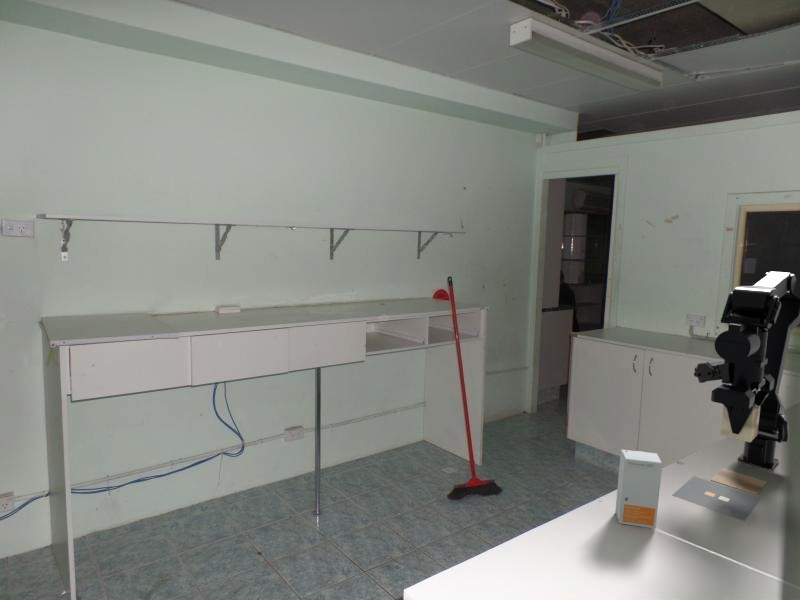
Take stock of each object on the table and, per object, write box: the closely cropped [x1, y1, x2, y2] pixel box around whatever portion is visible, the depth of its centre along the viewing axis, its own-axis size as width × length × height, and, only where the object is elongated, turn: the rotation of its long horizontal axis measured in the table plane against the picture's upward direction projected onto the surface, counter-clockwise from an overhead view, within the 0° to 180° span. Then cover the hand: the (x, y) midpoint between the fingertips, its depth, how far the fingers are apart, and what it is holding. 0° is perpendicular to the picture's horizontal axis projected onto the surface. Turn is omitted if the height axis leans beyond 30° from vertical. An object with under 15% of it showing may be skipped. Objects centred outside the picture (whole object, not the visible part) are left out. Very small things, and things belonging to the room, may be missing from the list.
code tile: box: [671, 475, 763, 522], centre depth 101 cm, size 12×12×1 cm
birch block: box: [720, 405, 760, 442], centre depth 104 cm, size 5×5×6 cm
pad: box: [710, 467, 768, 496], centre depth 107 cm, size 8×8×1 cm
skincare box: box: [615, 449, 663, 530], centre depth 91 cm, size 6×4×12 cm
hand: (739, 429), depth 104 cm, fingers closed on birch block, 5 cm apart
